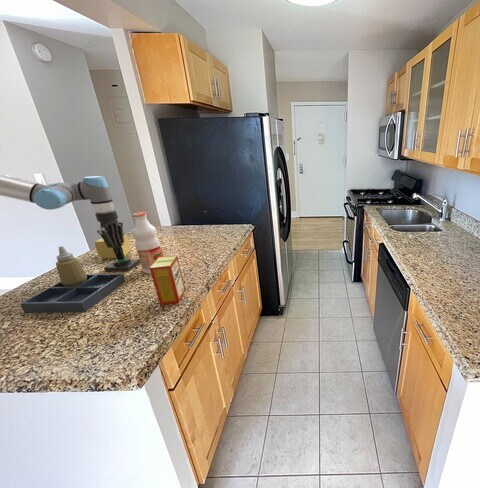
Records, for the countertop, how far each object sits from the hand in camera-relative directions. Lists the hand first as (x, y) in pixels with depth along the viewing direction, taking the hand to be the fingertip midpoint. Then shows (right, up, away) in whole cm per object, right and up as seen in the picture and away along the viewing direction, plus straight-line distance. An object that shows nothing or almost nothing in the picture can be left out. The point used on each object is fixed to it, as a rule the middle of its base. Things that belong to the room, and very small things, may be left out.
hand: (121, 258), depth 125 cm
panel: (0, -4, +2) cm, 5 cm away
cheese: (-14, +1, +15) cm, 21 cm away
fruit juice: (+17, -5, -1) cm, 18 cm away
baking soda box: (+39, -14, -23) cm, 47 cm away
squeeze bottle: (-5, -11, -17) cm, 21 cm away
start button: (0, -2, +1) cm, 2 cm away
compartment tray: (+1, -14, -22) cm, 25 cm away
